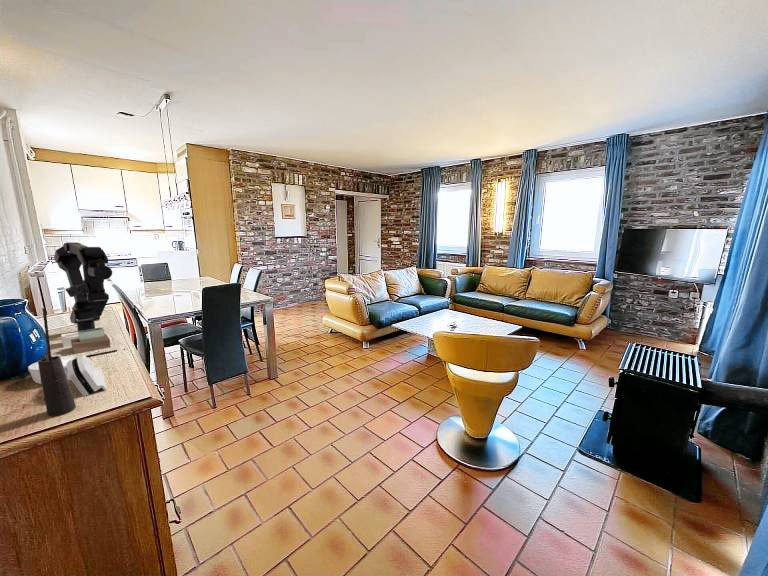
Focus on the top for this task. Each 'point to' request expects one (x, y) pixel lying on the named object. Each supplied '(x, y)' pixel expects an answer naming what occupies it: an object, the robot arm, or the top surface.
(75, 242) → the robot arm
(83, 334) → the pale grey block
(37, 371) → the ramekin
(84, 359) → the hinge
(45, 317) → the butter churn
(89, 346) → the channel mount plate
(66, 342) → the holder
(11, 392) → the top surface
